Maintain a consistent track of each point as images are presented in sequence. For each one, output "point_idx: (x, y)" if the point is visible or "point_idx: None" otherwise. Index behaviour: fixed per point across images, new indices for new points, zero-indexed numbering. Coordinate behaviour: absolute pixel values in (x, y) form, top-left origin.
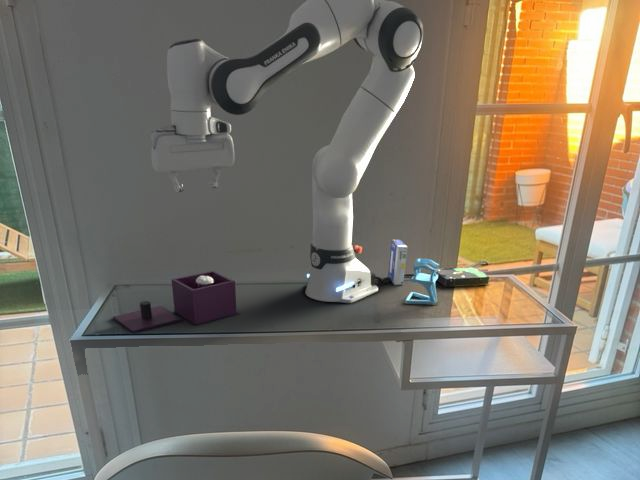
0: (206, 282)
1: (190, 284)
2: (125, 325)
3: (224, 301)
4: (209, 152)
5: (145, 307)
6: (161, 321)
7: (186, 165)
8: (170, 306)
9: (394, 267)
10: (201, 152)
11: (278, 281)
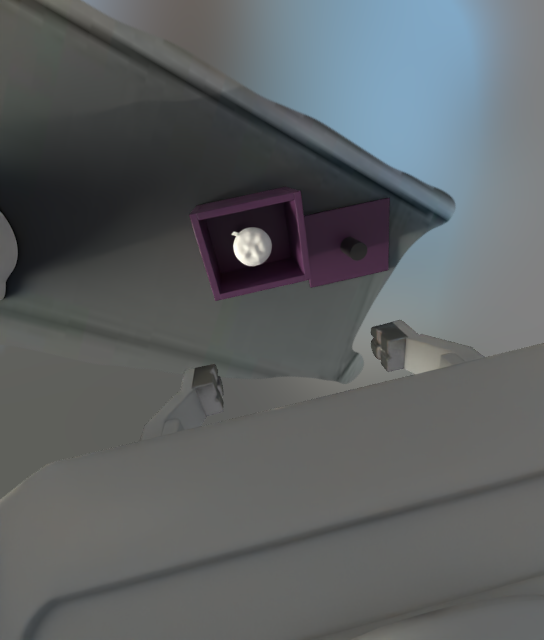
0: (254, 229)
1: (270, 276)
2: (388, 226)
3: (221, 203)
4: (228, 529)
5: (359, 241)
6: (334, 218)
7: (427, 392)
8: (293, 287)
9: None
10: (321, 510)
11: (68, 336)
